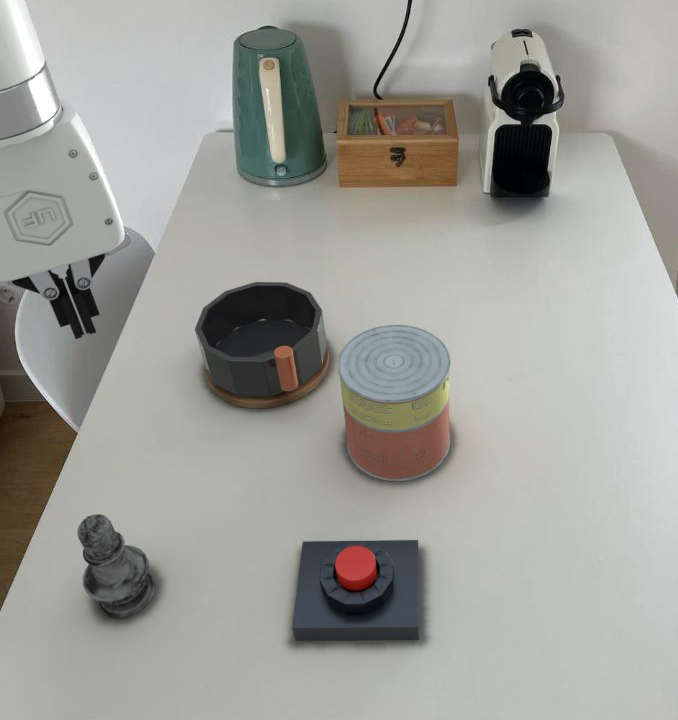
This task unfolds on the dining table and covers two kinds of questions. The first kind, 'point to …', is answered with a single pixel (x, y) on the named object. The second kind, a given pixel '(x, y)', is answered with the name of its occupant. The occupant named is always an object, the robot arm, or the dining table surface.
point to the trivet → (275, 399)
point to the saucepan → (262, 338)
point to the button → (356, 568)
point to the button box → (358, 594)
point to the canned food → (396, 401)
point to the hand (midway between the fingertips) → (82, 325)
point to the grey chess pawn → (114, 569)
